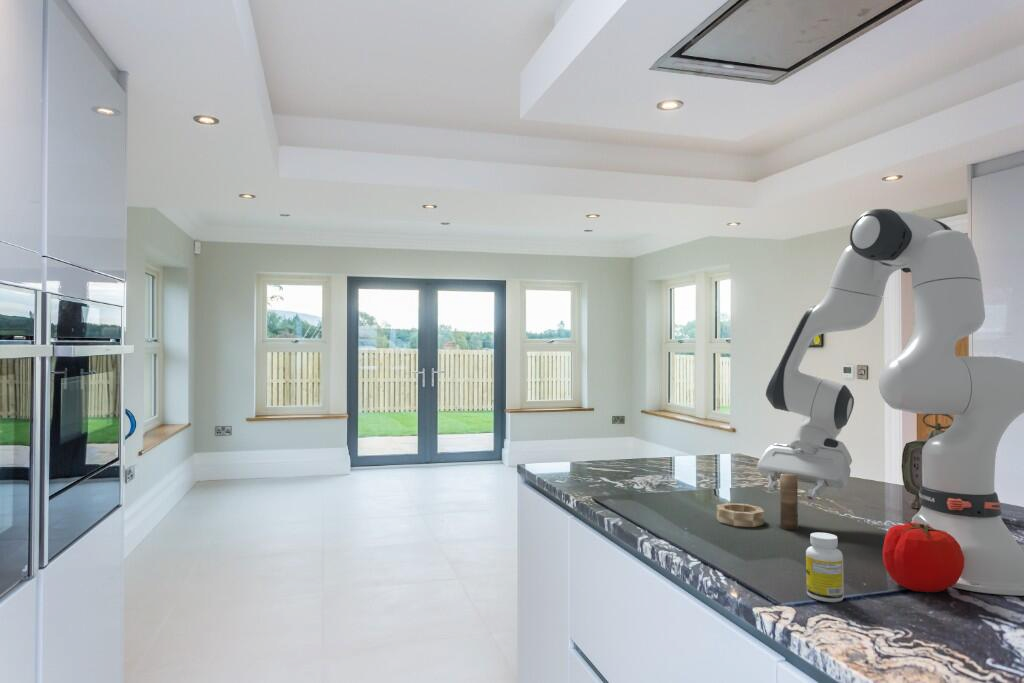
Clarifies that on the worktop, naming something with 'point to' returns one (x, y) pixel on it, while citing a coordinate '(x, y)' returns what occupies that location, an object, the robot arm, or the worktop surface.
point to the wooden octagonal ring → (740, 514)
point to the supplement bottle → (824, 568)
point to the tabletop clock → (917, 460)
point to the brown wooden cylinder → (788, 501)
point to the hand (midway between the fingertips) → (790, 494)
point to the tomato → (922, 557)
